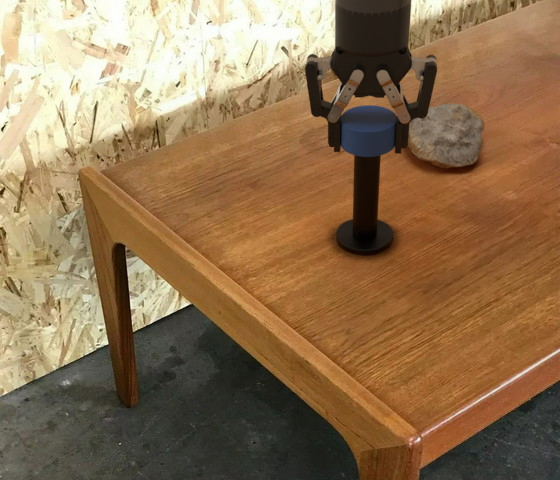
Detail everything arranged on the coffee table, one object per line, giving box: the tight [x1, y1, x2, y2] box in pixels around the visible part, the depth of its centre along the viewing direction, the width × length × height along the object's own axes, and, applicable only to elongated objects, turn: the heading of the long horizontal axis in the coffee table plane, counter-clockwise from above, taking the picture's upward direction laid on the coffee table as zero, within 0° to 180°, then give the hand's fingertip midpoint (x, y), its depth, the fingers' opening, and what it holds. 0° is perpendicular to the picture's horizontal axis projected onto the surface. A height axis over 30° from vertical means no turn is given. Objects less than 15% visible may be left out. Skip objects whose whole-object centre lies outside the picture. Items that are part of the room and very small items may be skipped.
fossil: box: [407, 102, 485, 169], centre depth 110 cm, size 12×8×10 cm
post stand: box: [335, 155, 394, 256], centre depth 94 cm, size 7×7×13 cm
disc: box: [340, 104, 397, 157], centre depth 88 cm, size 6×6×3 cm
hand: (367, 149), depth 90 cm, fingers closed on disc, 6 cm apart
